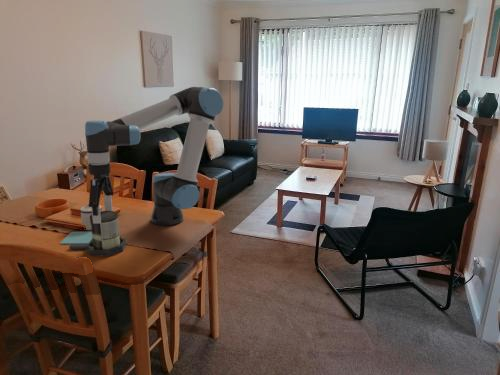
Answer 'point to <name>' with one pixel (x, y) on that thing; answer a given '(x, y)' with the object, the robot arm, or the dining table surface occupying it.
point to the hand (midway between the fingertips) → (103, 216)
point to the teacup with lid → (87, 215)
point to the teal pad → (78, 238)
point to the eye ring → (99, 251)
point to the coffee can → (105, 231)
